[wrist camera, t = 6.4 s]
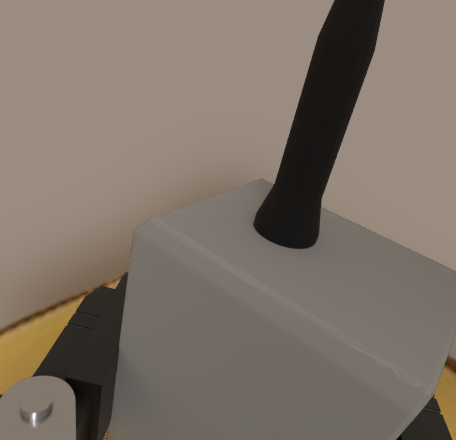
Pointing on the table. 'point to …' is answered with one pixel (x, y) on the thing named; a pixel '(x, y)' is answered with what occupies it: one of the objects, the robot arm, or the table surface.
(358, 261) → the vintage mobile phone
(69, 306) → the table surface
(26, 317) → the table surface
